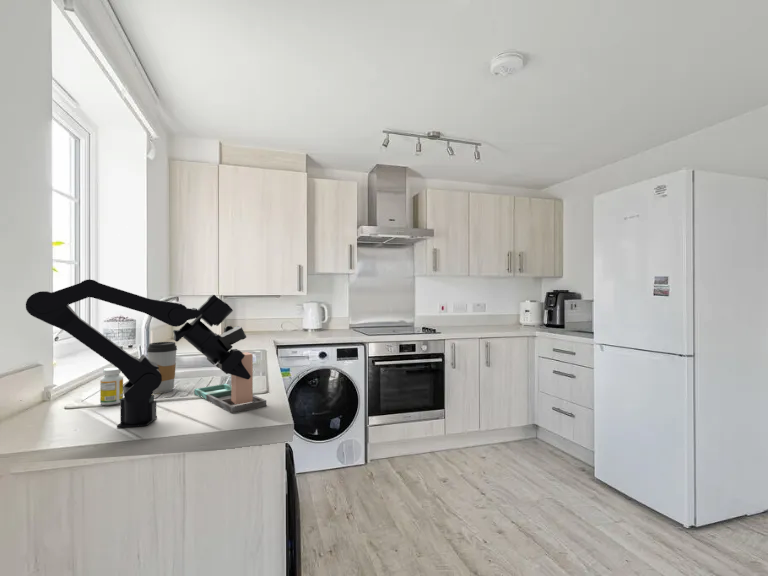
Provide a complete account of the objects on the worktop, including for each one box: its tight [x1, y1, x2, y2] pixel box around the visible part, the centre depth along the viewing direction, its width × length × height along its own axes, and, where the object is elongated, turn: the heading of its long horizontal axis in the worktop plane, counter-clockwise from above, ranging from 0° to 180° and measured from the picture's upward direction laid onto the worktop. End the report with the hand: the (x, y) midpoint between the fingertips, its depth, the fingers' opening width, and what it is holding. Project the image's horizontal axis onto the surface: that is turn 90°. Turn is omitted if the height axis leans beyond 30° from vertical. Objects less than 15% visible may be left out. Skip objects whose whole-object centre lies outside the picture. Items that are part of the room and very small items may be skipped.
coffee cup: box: [146, 341, 178, 394], centre depth 127 cm, size 8×8×15 cm
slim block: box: [230, 351, 254, 405], centre depth 110 cm, size 4×4×13 cm
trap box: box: [194, 383, 267, 414], centre depth 117 cm, size 27×10×2 cm, turn 44°
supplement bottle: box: [99, 367, 124, 406], centre depth 114 cm, size 5×5×10 cm
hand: (247, 376), depth 111 cm, fingers closed on slim block, 4 cm apart
